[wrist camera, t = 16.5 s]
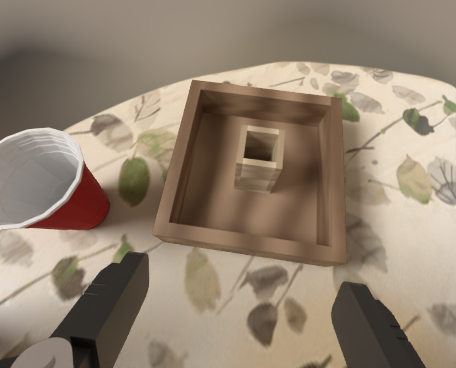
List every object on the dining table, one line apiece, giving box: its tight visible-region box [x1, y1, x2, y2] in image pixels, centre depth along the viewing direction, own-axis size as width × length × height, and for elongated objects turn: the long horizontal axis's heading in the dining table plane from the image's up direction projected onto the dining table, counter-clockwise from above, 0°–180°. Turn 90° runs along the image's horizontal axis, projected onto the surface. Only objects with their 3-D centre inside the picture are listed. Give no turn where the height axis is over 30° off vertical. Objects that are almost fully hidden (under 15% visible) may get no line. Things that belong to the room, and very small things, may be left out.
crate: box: [152, 80, 347, 266], centre depth 33 cm, size 21×22×6 cm
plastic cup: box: [0, 128, 109, 230], centre depth 28 cm, size 11×11×12 cm
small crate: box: [234, 125, 285, 194], centre depth 31 cm, size 5×5×8 cm
